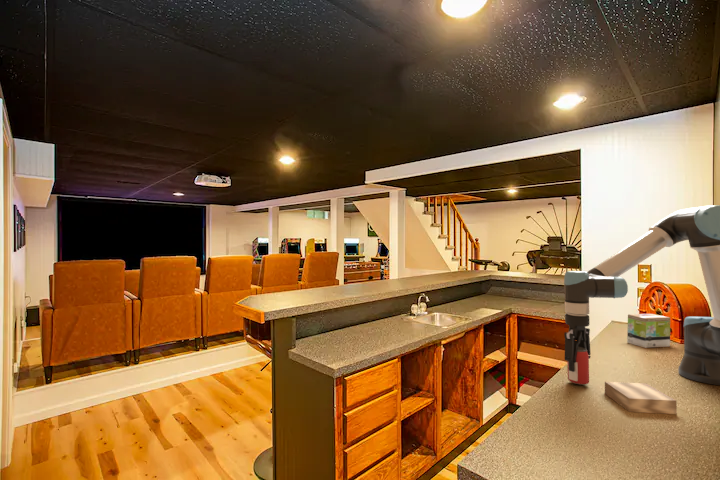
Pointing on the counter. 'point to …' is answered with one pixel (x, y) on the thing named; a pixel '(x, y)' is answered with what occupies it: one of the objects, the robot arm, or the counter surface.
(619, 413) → the counter surface
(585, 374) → the beer can
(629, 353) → the counter surface
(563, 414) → the counter surface
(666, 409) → the maple base
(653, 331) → the tea box
